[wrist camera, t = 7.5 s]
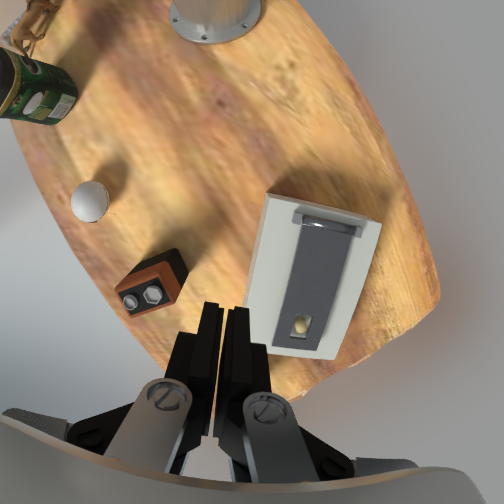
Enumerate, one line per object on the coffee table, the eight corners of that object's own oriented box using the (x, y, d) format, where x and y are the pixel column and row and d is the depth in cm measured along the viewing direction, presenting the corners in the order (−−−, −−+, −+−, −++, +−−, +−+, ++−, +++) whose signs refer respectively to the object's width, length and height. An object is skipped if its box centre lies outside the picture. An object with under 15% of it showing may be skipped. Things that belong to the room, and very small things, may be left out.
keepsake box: (265, 192, 36) (271, 199, 29) (363, 214, 38) (388, 227, 30) (237, 325, 42) (236, 357, 35) (324, 337, 43) (337, 367, 36)
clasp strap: (303, 213, 31) (305, 214, 30) (351, 224, 32) (355, 226, 31) (271, 342, 35) (271, 347, 34) (314, 347, 36) (316, 352, 35)
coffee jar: (30, 99, 30) (-50, 88, 12) (60, 62, 29) (-17, 32, 11) (54, 135, 33) (-36, 133, 15) (86, 95, 31) (0, 69, 13)
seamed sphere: (78, 205, 36) (57, 212, 31) (94, 171, 35) (73, 174, 29) (116, 233, 38) (98, 244, 32) (134, 200, 36) (117, 206, 31)
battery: (190, 273, 40) (175, 307, 30) (150, 289, 40) (127, 324, 31) (177, 246, 38) (156, 273, 29) (137, 263, 39) (108, 292, 29)
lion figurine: (49, -4, 23) (24, -20, 15) (69, -9, 24) (44, -28, 15) (20, 62, 27) (-11, 53, 19) (38, 59, 28) (6, 47, 19)
